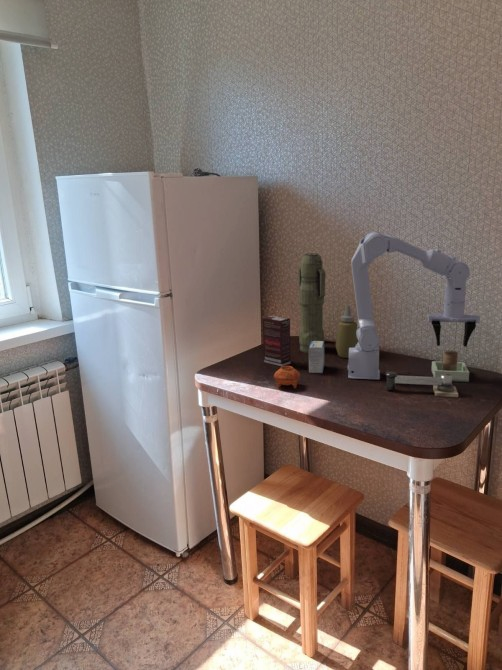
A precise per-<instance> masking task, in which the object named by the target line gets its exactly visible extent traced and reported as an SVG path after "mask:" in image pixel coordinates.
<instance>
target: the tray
mask: <svg viewBox="0 0 502 670" xmlns="http://www.w3.org/2000/svg"><path fill="white" fill-rule="evenodd" d="M431 373H432V375H433V376H432V377H441V374H450V375H452V382H463V383H466V382H467V383H469V381H470V371H469V369H468V367H467V365H466V363H465V362H461V361H457V371H444V370H443V361H434V360H433V361H431Z"/></svg>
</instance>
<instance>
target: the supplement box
mask: <svg viewBox="0 0 502 670" xmlns="http://www.w3.org/2000/svg"><path fill="white" fill-rule="evenodd" d="M262 338H263V339H262V340H263V343H262V344H263V345H262V346H263V362H264V363H267V364H269V365H273V366H274V365H275V366H278V367H283V366H289V365H290V364H291V358H292V357H291V318H289V317H283V316H277V315H272V314H271V315H267V316H263V317H262Z"/></svg>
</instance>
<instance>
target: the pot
mask: <svg viewBox="0 0 502 670" xmlns="http://www.w3.org/2000/svg"><path fill="white" fill-rule="evenodd" d="M300 378H301V373H300V372H299V371H298V370H297V369H295V368H294V367H293V366H291V365H285V366H280V368H279V369H278V370H277V371H275V373H274V374H273V379H274V380H275V383H276V387H277V388H278V389H279V388H280V386H281V385H283V386H290V385H291V386H292V387H293V388H294V390H295V389H297V385H298V381H299V380H300Z"/></svg>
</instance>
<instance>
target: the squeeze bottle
mask: <svg viewBox="0 0 502 670" xmlns="http://www.w3.org/2000/svg"><path fill="white" fill-rule="evenodd" d="M357 328H358V322H356V321H355V316H354V315H353V314H352V313H351V306H350V305H348V304H347V305H345V309H344V313H343V315H341V316H340V321H339V322H338V323H337V331H336V339H335V348H336V352H337V355H338V356H339V357H340V358H344V359H345V358H346V359H349V348H354V347H355V346H356V345H357V343H358V342H359V341H358V339H357V337H356V331H357Z"/></svg>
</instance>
